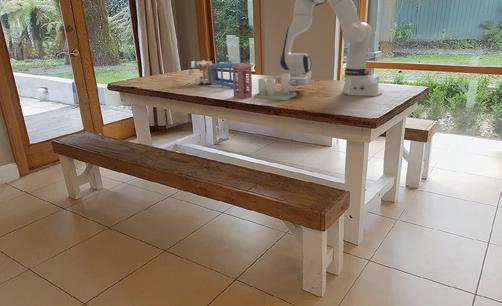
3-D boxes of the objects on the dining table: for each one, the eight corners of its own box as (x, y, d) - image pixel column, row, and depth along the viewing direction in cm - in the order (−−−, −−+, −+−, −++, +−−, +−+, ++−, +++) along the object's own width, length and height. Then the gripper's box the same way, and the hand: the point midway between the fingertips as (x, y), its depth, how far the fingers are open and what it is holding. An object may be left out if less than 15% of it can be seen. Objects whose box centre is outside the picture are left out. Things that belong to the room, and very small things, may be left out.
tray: (296, 96, 223) (296, 92, 223) (285, 101, 212) (285, 97, 211) (265, 94, 233) (265, 90, 232) (254, 98, 222) (254, 94, 221)
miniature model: (245, 96, 231) (243, 61, 224) (253, 98, 223) (252, 63, 216) (232, 98, 226) (230, 63, 219) (240, 100, 219) (238, 65, 212)
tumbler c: (291, 91, 221) (291, 73, 218) (287, 92, 217) (287, 75, 214) (283, 90, 223) (283, 73, 220) (280, 92, 220) (280, 74, 216)
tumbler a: (276, 96, 221) (276, 79, 218) (273, 98, 218) (272, 80, 214) (269, 96, 224) (269, 78, 220) (265, 97, 220) (265, 80, 216)
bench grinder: (201, 57, 282) (252, 61, 258) (202, 80, 288) (252, 86, 264) (185, 60, 270) (237, 64, 245) (187, 84, 275) (238, 90, 251)
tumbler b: (268, 96, 224) (267, 78, 221) (264, 97, 220) (263, 80, 217) (261, 95, 226) (260, 78, 223) (257, 97, 223) (256, 79, 219)
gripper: (279, 72, 233) (268, 75, 222) (311, 74, 223) (301, 77, 212) (279, 82, 235) (268, 86, 224) (311, 84, 225) (301, 89, 214)
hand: (285, 82), depth 218 cm, fingers closed on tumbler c, 5 cm apart
